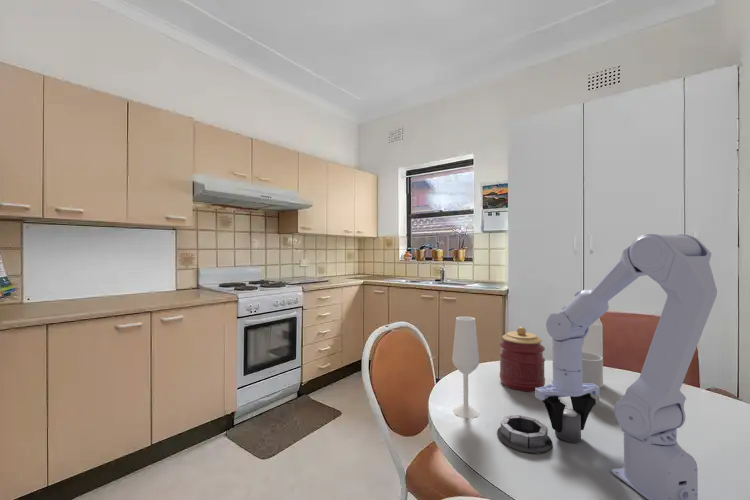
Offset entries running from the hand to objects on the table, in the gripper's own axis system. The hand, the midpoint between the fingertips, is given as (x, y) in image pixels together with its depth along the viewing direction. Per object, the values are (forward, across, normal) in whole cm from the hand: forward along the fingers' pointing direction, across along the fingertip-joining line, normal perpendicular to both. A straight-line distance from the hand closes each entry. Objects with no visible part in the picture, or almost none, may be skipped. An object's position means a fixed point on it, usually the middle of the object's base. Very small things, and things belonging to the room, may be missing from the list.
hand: (567, 429), depth 74 cm
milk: (+2, -29, -26) cm, 39 cm away
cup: (+2, -19, -16) cm, 25 cm away
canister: (+2, -8, -29) cm, 30 cm away
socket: (+2, +10, -1) cm, 10 cm away
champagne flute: (+2, +17, -15) cm, 23 cm away
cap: (+1, 0, 0) cm, 1 cm away
